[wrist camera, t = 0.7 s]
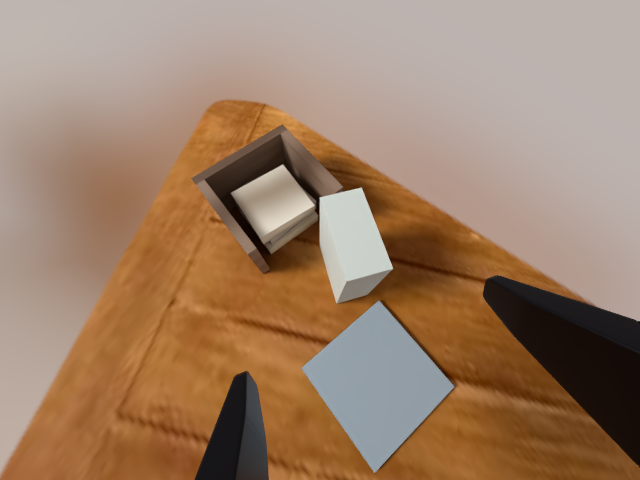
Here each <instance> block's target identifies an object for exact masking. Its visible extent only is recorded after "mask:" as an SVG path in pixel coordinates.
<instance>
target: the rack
mask: <svg viewBox="0 0 640 480" xmlns="http://www.w3.org/2000/svg"><path fill="white" fill-rule="evenodd" d="M281 165H284V166H285V168H286V169H287V170H288V171H289V173H290V174H291V175H292V177H293V178H294V179H295V181H296V182H297V183H298V184H299V186H301V187H302V188H303V189H304V190H305V191H306V192H307V193H308V194H309V195H310V196H311V197H312V198H314V199H315V200H316V205H317V206H318V207H319V208H320V197H324V196H328V195H332V194H336V193H341V192H343V186H342V185H341V184H340V183H339V182H338V181H337V180H336V179H335V178H334V177H333V176H332V175H331V174H330V173H329V172H328V171H327V170H326V169H325V168H324V167H323V166H322V165H321V164H320V162H319V161H318V160H317V159H316V158H315V157H314V156H313V155H312V154H311V153H310V152H309V151H308V150H307V149H306V148H305V147H304V146H303V145H302V144H301V143H300V142H299V141H298V140H297V139H296V138H295V137H294V136H293V135H292V134H291V133H290V132H289V131H288V130H287V129H286V128H285V127H284V126H283V125H281V126H279V127H277V128H275V129H274V130H272V131H270V132H269V133H267V134H265V135H264V136H262V137H260V138H259V139H257V140H255V141H254V142H252V143H250V144H248V145H247V146H245V147H243V148H242V149H240V150H238V151H237V152H235V153H233V154H232V155H230V156H228V157H226V158H225V159H223V160H221V161H220V162H218V163H216V164H215V165H213V166H211V167H210V168H208V169H206V170H205V171H203V172H201V173H199V174H198V175H196V176H194V177H193V178H191V179H192V180H193V181H194V183H195V184H196V185H197V187H198V188H199V189H200V191H201V192H202V193H203V195H204V196H205V197H206V199H207V200H208V202H209V203H210V204H211V206H212V207H213V208H214V210H215V211H216V212H217V214H218V215H219V216H220V218H221V219H222V220H223V222H224V223H225V224H226V226H227V227H228V229H229V230H230V231H231V233H232V234H233V235H234V237H235V238H236V239H237V241H238V242H239V243H240V245H241V246H242V247H243V249H244V250H245V252H246V253H247V254H248V255H249V257H250V258H251V259H252V260H253V262H254V263H255V264H256V265H257V267H258V268H259V269H260V270H261V272H262V273H263V274H264V273H265V272H267V271H268V270H269V269H270V268H269V266H268V265H267V263H266V262H265V260H264V259H263V257H262V256H261V254H260V253H259V251H258V250H257V248H256V247H255V246H254V244H253V243H252V242H251V240H250V239H249V238H248V236H247V235H246V234H245V233H244V231H243V230H242V229H241V227H240V226H239V225H238V223H237V222H236V221H235V219H234V218H233V217H232V215H231V214H230V213H229V211H230V210H231V209H233V208H234V207H236V206H237V205H236V201H235V200H234V198H233V196H232V195H231V192H233V191H235V190H237V189H239V188H241V187H242V186H244V185H246V184H248V183H250V182H252V181H253V180H255V179H257V178H259V177H261V176H263V175H264V174H266V173H268V172H270V171H272V170H274V169H275V168H277V167H279V166H281Z"/></svg>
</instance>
